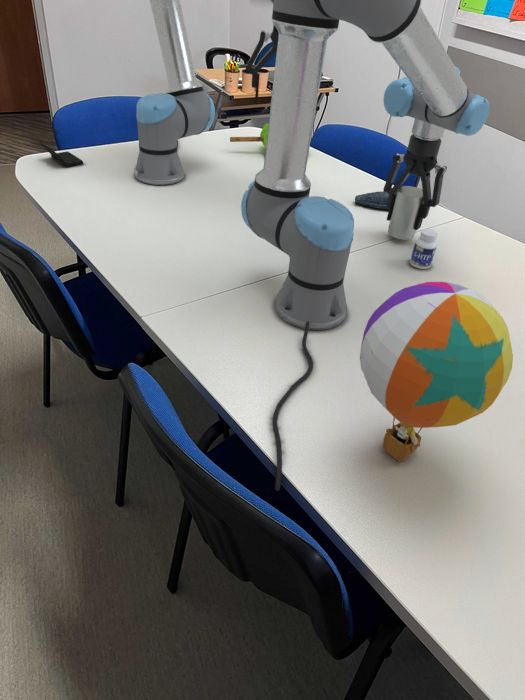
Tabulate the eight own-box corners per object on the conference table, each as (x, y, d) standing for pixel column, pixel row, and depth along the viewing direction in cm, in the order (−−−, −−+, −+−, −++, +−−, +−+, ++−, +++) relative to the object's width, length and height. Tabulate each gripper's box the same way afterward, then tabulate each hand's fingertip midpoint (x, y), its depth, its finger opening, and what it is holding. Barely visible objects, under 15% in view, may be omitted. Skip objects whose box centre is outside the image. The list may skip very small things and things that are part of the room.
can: (409, 242, 139) (421, 199, 131) (383, 234, 141) (394, 191, 134) (417, 232, 144) (429, 190, 136) (392, 225, 146) (402, 183, 139)
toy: (311, 442, 83) (343, 281, 64) (387, 392, 94) (434, 241, 75) (410, 529, 72) (484, 365, 53) (484, 461, 83) (567, 304, 64)
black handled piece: (88, 157, 170) (65, 134, 161) (76, 174, 168) (53, 153, 160) (67, 152, 176) (45, 131, 168) (56, 170, 175) (33, 149, 166)
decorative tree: (227, 117, 189) (306, 117, 195) (226, 146, 196) (303, 145, 201) (234, 131, 176) (319, 131, 181) (233, 162, 182) (315, 161, 187)
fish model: (423, 215, 157) (428, 199, 154) (354, 208, 158) (357, 191, 155) (420, 206, 162) (425, 191, 159) (353, 199, 163) (356, 184, 160)
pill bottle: (408, 266, 131) (417, 234, 126) (410, 257, 135) (419, 225, 130) (429, 271, 130) (439, 239, 125) (431, 262, 134) (441, 230, 129)
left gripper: (238, 7, 125) (234, 102, 138) (341, 16, 125) (327, 110, 139) (239, 4, 130) (236, 95, 144) (338, 13, 131) (325, 103, 145)
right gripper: (472, 143, 125) (443, 231, 139) (395, 123, 133) (376, 208, 147) (461, 150, 120) (433, 240, 134) (382, 129, 128) (363, 216, 143)
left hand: (281, 103), depth 141 cm, fingers open, 13 cm apart
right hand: (403, 223), depth 141 cm, fingers closed on can, 7 cm apart
